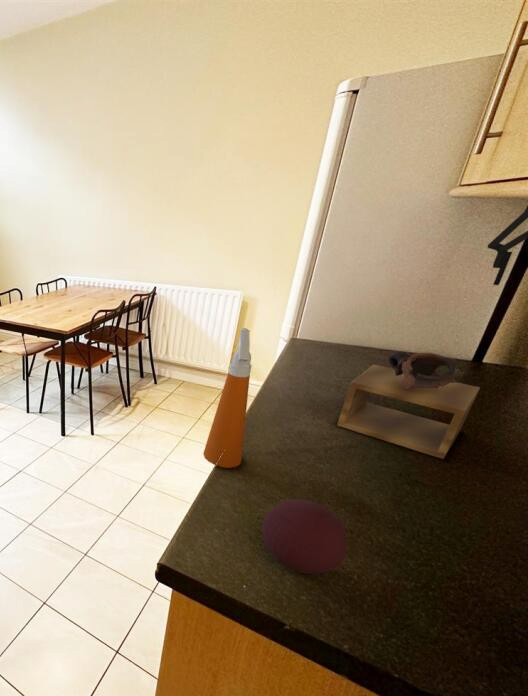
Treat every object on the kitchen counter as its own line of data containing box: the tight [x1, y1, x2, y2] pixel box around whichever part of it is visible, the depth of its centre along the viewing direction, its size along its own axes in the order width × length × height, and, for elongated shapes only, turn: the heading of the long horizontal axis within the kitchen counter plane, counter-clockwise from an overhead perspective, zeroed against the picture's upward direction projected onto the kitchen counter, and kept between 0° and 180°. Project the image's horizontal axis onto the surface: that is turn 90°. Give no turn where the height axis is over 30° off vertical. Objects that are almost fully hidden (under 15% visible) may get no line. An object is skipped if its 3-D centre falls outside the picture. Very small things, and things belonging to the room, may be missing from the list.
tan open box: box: [336, 364, 481, 460], centre depth 91 cm, size 18×16×11 cm
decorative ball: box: [261, 498, 349, 575], centre depth 58 cm, size 10×10×10 cm
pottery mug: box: [387, 351, 456, 390], centre depth 88 cm, size 12×10×8 cm
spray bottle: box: [202, 327, 252, 469], centre depth 81 cm, size 7×11×26 cm, turn 156°
